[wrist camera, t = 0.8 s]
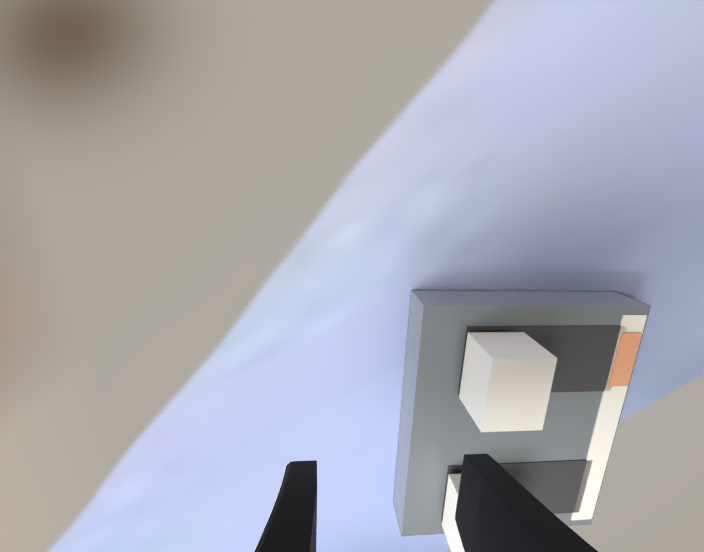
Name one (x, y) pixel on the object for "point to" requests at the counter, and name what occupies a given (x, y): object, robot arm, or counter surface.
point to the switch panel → (562, 411)
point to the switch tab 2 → (506, 381)
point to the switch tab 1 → (452, 514)
